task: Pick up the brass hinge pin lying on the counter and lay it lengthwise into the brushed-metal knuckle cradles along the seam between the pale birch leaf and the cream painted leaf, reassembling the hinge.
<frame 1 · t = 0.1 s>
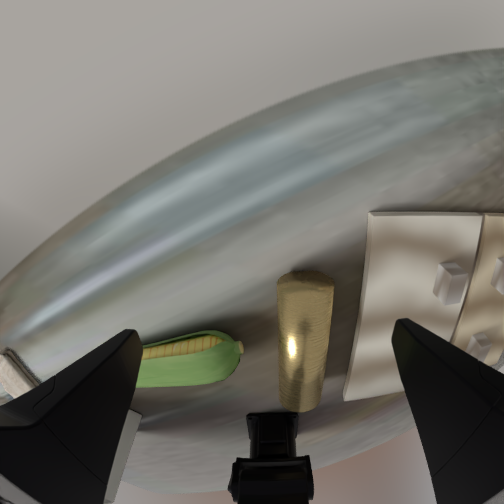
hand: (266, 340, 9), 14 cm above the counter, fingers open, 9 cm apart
washcloth: (31, 387, 37), on the counter
hinge leaves: (456, 309, 26), on the counter
hinge pin: (300, 334, 27), on the counter
milk carton: (116, 412, 35), on the counter
edible corn: (157, 349, 29), on the counter
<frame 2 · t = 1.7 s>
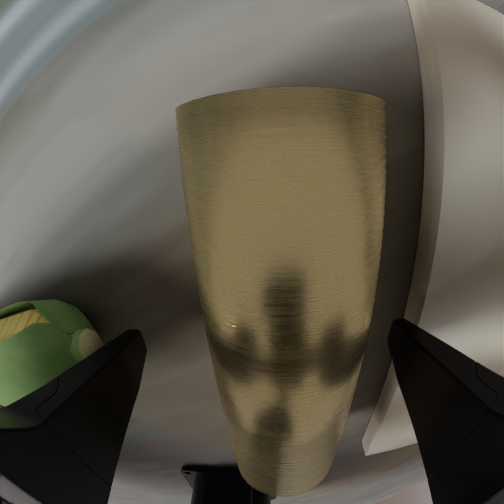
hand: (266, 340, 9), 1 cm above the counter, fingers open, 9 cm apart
hinge pin: (264, 318, 10), on the counter, tilted 19°
edible corn: (11, 335, 12), on the counter, touching gripper
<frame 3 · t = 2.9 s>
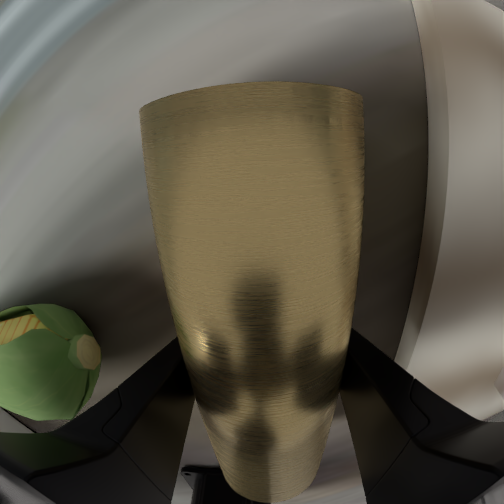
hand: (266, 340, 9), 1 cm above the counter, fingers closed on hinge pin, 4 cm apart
hinge pin: (264, 321, 10), on the counter, touching gripper
milk carton: (19, 427, 18), on the counter
edible corn: (9, 336, 12), on the counter
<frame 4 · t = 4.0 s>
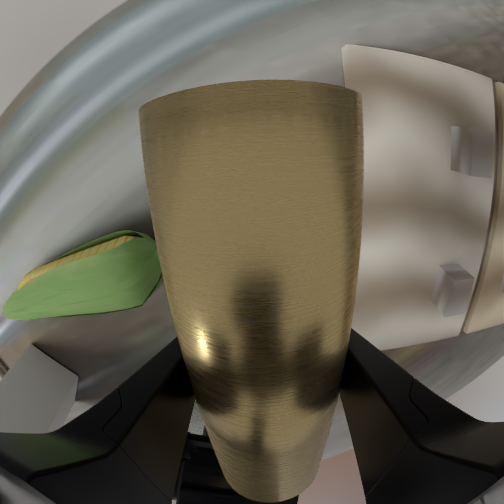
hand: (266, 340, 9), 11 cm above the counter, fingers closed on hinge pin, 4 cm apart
hinge leaves: (484, 215, 18), on the counter
hinge pin: (264, 321, 10), point 9 cm above the counter, touching gripper
milk carton: (54, 373, 27), on the counter
edible corn: (77, 271, 21), on the counter
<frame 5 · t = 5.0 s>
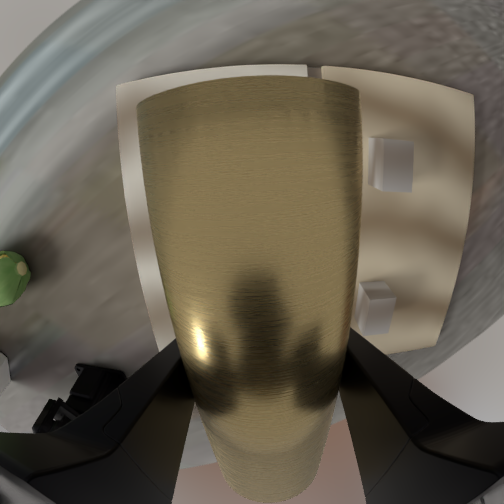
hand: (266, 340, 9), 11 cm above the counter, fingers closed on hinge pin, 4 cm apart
hinge leaves: (314, 231, 20), on the counter
hinge pin: (263, 320, 10), point 10 cm above the counter, touching gripper
when the fingers open (3 cm above the counter, at t = 7.5 s): hinge pin drops 1 cm, resting on hinge leaves.
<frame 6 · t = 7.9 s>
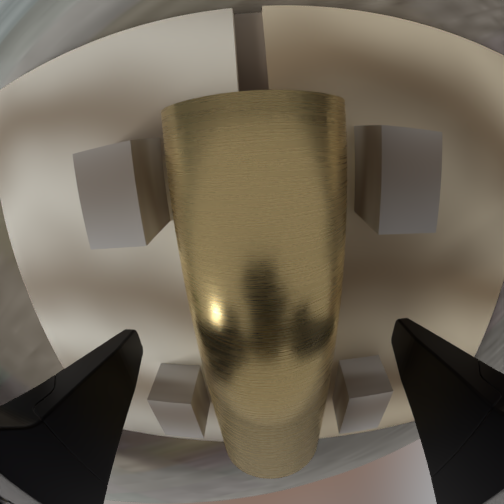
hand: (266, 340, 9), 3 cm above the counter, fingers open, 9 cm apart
hinge leaves: (266, 286, 12), on the counter
hinge pin: (264, 300, 11), point 1 cm above the counter, touching hinge leaves
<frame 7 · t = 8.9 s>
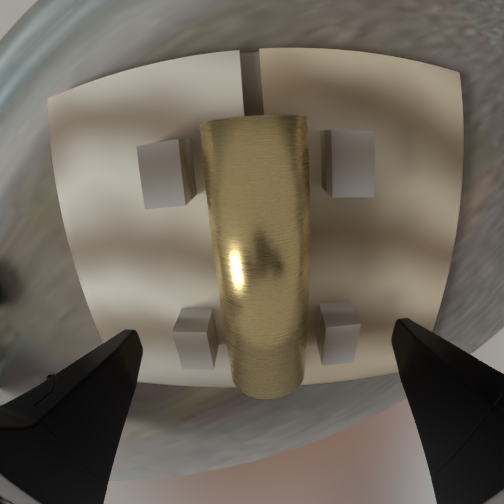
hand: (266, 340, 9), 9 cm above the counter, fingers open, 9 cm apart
hinge leaves: (262, 244, 17), on the counter
hinge pin: (261, 251, 16), point 1 cm above the counter, touching hinge leaves
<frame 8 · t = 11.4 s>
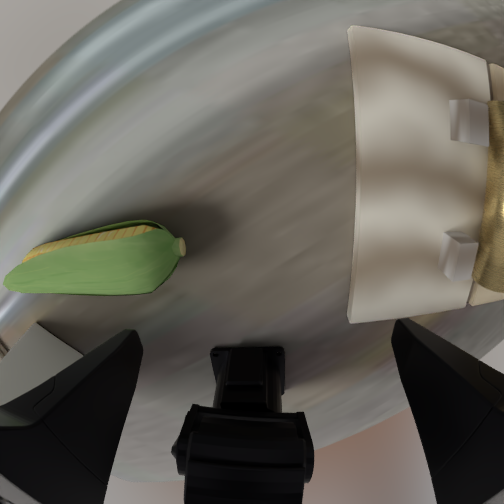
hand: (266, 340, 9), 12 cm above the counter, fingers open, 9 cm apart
hinge leaves: (484, 187, 18), on the counter
hinge pin: (491, 189, 17), point 1 cm above the counter, touching hinge leaves
milk carton: (57, 353, 27), on the counter
edible corn: (86, 251, 22), on the counter
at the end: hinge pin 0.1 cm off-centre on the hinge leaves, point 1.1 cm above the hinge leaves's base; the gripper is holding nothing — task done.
